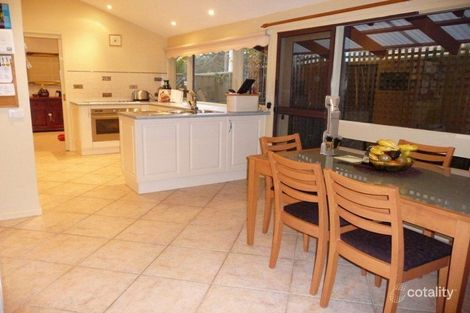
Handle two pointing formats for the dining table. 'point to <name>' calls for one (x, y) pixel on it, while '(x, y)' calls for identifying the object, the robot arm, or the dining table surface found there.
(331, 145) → the stool
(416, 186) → the dining table surface
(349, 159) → the mat
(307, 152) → the dining table surface
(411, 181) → the dining table surface
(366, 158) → the stone
